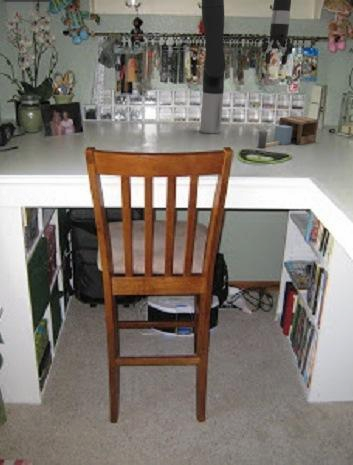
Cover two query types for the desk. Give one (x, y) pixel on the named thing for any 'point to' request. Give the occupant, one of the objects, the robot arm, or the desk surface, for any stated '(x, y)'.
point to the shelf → (301, 128)
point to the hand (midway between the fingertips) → (275, 64)
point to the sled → (277, 136)
